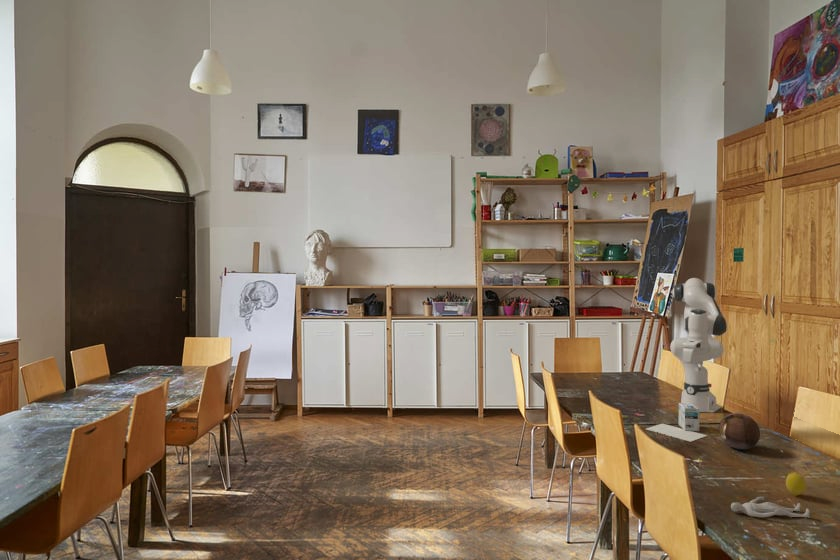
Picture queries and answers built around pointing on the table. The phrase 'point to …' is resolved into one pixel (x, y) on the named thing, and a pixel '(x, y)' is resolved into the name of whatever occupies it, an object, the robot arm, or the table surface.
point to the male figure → (766, 509)
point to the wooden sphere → (739, 431)
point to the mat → (676, 432)
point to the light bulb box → (689, 417)
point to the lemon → (795, 483)
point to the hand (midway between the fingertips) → (698, 370)
